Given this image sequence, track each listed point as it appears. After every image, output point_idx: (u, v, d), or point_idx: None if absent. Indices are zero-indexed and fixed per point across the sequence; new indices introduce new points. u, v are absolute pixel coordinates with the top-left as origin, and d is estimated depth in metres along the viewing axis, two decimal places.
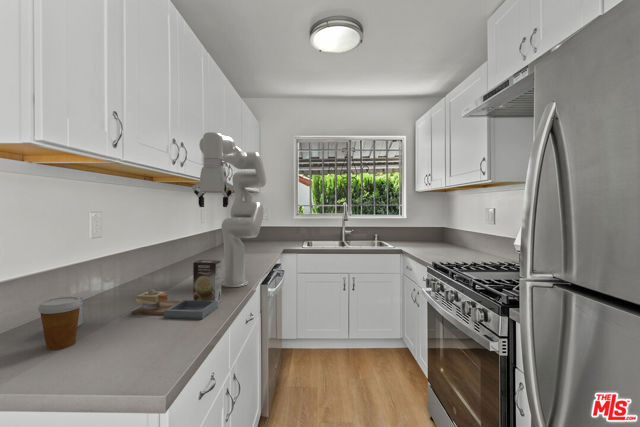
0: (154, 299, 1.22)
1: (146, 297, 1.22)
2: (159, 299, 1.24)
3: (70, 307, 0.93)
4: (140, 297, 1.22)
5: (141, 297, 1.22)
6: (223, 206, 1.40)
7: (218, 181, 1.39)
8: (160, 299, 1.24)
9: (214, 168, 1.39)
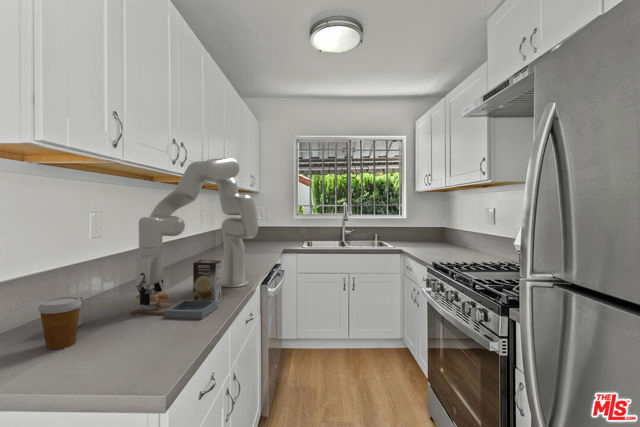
0: (154, 299, 1.22)
1: None
2: (159, 299, 1.24)
3: (70, 307, 0.93)
4: None
5: None
6: None
7: (161, 270, 1.28)
8: (160, 299, 1.24)
9: (159, 256, 1.26)
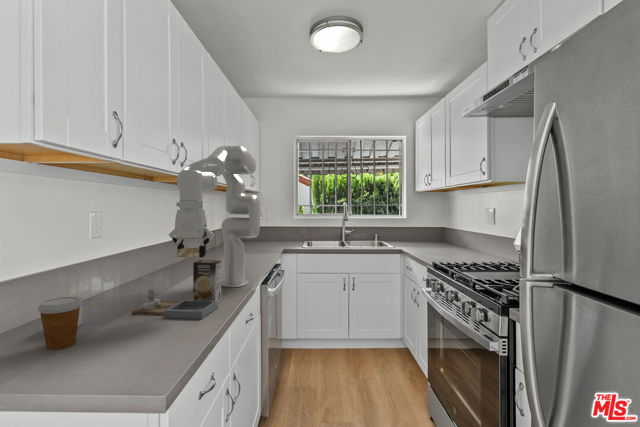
0: None
1: None
2: None
3: (70, 307, 0.93)
4: (198, 250, 1.21)
5: None
6: None
7: None
8: None
9: None
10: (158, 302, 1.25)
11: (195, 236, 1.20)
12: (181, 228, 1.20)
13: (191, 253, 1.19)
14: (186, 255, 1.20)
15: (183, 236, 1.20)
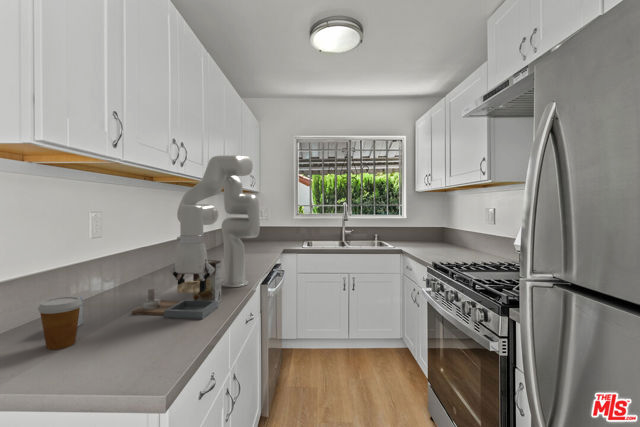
0: None
1: None
2: None
3: (70, 307, 0.93)
4: (199, 285, 1.21)
5: (199, 285, 1.21)
6: None
7: None
8: None
9: None
10: (158, 302, 1.25)
11: (196, 271, 1.20)
12: (182, 263, 1.20)
13: (191, 288, 1.19)
14: (187, 290, 1.20)
15: (183, 271, 1.20)
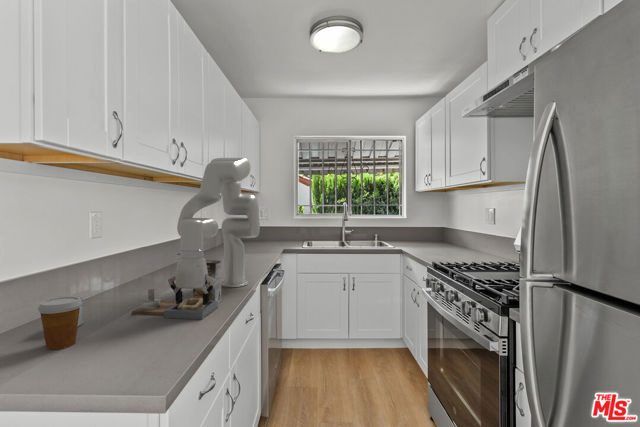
0: None
1: (202, 303, 1.23)
2: None
3: (70, 307, 0.93)
4: (199, 306, 1.21)
5: (200, 305, 1.21)
6: (181, 301, 1.26)
7: None
8: None
9: None
10: (158, 302, 1.25)
11: (196, 286, 1.20)
12: (182, 278, 1.21)
13: None
14: None
15: (184, 286, 1.21)
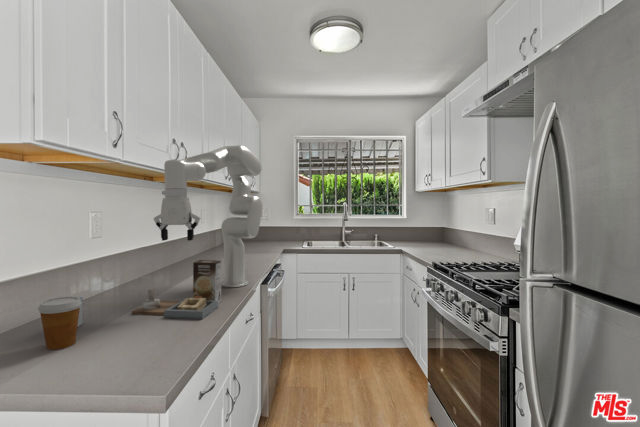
0: (205, 301, 1.26)
1: (202, 303, 1.23)
2: None
3: (70, 307, 0.93)
4: (199, 306, 1.21)
5: (200, 305, 1.21)
6: (167, 238, 1.33)
7: None
8: None
9: None
10: (158, 302, 1.25)
11: (180, 222, 1.28)
12: (167, 215, 1.28)
13: None
14: None
15: (169, 222, 1.28)
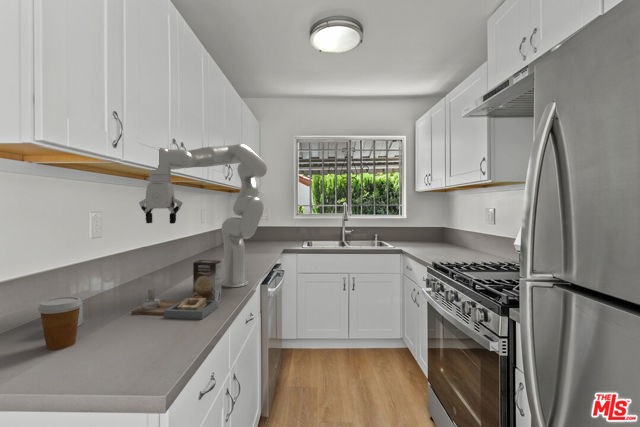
0: (205, 301, 1.26)
1: (202, 303, 1.23)
2: None
3: (70, 307, 0.93)
4: (199, 306, 1.21)
5: (200, 305, 1.21)
6: (151, 222, 1.42)
7: None
8: None
9: None
10: (158, 302, 1.25)
11: (163, 206, 1.36)
12: (151, 199, 1.37)
13: None
14: None
15: (152, 206, 1.37)
